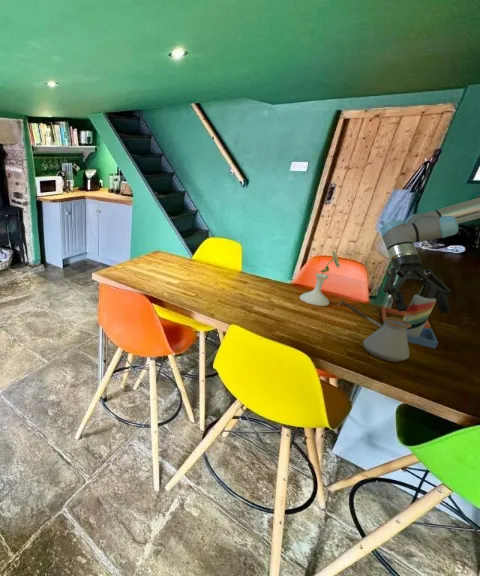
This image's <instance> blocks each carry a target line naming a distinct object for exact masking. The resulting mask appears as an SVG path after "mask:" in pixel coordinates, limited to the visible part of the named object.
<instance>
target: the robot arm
mask: <svg viewBox="0 0 480 576" xmlns="http://www.w3.org/2000/svg"><path fill="white" fill-rule="evenodd" d="M479 219H480V197H476V198H473V199H470V200H466V201H462V202H459V203H456V204H452V205H449V206H445V207H441V208H438V209H434V210H432V211H428V212H427V211H426V212H425V213H423V212H421V213H419V212H418V213H414V214H412V215H410V216H408V217H407V218H406V220H404V219H403V220H402V219H399V220H398V219H395V220H390V221H388V222H385V224H383V225H381V227H380V233H381V234H380V235H381V237H382V240H383V242H384V247H385V248H386V251H387V254H388V257H389V259H390V261H391V263H390V264H391V266H392V267H391V268H389V269H387V270H386V280H385V283H384V287H383V290H382V291H383V293H385V294H386V293H387V295H388V296H391V298H392V302H394V303H395V306H396V308H397V310H398V311H400V312H401V311H407V309H408V307H407V304H406V301H405V298H404V296H403V292H402V291H400V290H401V288H402V286H403V285H404V283H406V282H413V283H415V282H416V283H417V284H420V285H422V286H423V284H425V283H427V284H431V285H434V286H436V287H439V288H438V290H437V292H436V294H435V296H434V298H435V299H436V304H437V307H438V309H439V311H440V314H445V313H448V312H451V311H452V309H451V307H450V305H449V299H448V296H447V294H449V293H451V292H452V290H451V288H449V286H447V284H445V282H443V281H442V280H441V278H439V277H438V276H437V275H436V273H435V272H434V270H433V269H432V268H428V269H423V268H422V261H421V258H420V256H419V253H418V251H417V248H416V245H415V243H420V242H426V241H431V240H438V239H441V238H442V239H443V238H447V237H452V236H455V235H456V234H457V233H458V232H459V225H460V224H462V223H466V222H469V221H473V220H479ZM397 276H398V278H397V279H396V277H397ZM395 280H396V282H395Z"/></svg>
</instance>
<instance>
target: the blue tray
mask: <svg viewBox="0 0 480 576" xmlns="http://www.w3.org/2000/svg"><path fill="white" fill-rule="evenodd" d="M384 324H385V321H384V322H382V325H384ZM407 341H408V343H411V344H415V345H419V346H423V347H427V348H430V349H435V350H436V348H437V346H438V344H439V342H438V341H439V340H438V339H437V336H436V335H435V333H434V331H433V329H432V328H430V329H429V328H425V327H423V329H422V331H421V333H420V335H419V337H415V336H410V335H407Z"/></svg>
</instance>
